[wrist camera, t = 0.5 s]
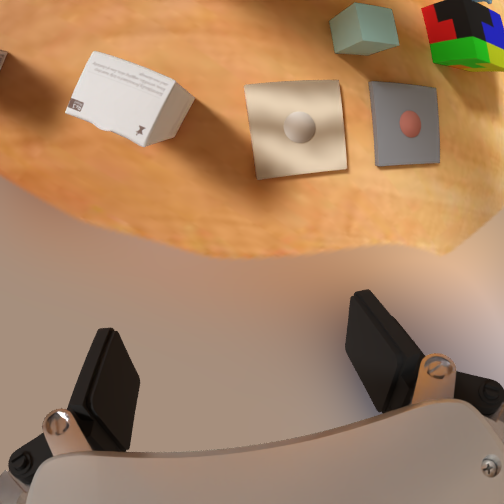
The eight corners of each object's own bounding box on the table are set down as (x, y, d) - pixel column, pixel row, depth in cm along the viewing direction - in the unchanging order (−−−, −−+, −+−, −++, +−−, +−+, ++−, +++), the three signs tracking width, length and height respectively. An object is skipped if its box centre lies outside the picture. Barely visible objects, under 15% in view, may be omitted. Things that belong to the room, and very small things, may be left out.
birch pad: (243, 86, 32) (244, 84, 31) (335, 80, 33) (339, 79, 32) (256, 178, 37) (257, 180, 36) (344, 167, 38) (347, 169, 37)
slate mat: (368, 81, 33) (372, 81, 32) (432, 88, 34) (436, 88, 33) (375, 165, 38) (379, 166, 37) (435, 161, 39) (440, 163, 38)
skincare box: (196, 97, 32) (185, 79, 18) (173, 140, 34) (148, 151, 20) (137, 72, 29) (93, 45, 16) (115, 115, 31) (60, 114, 18)
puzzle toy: (460, 21, 28) (499, 14, 19) (470, 71, 33) (512, 71, 23) (421, 8, 28) (461, -5, 19) (432, 62, 32) (477, 58, 23)
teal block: (328, 21, 29) (354, 2, 22) (361, 24, 29) (391, 9, 22) (334, 53, 31) (362, 40, 24) (367, 55, 31) (399, 45, 24)
